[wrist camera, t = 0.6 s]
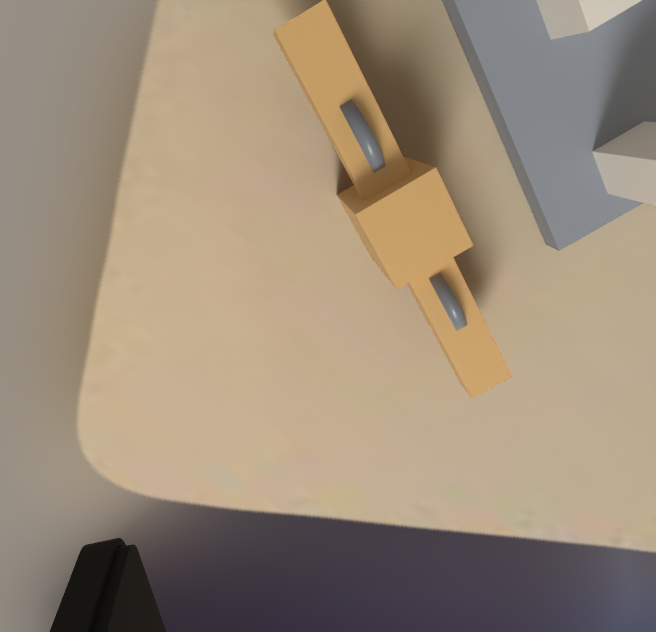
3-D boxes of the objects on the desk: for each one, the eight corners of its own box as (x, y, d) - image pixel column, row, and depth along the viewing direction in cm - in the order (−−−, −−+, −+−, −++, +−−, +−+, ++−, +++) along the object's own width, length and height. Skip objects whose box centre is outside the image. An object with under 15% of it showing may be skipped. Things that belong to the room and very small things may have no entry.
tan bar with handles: (328, 5, 28) (347, -19, 23) (492, 336, 35) (537, 380, 30) (256, 50, 29) (258, 36, 23) (433, 369, 36) (467, 419, 30)
